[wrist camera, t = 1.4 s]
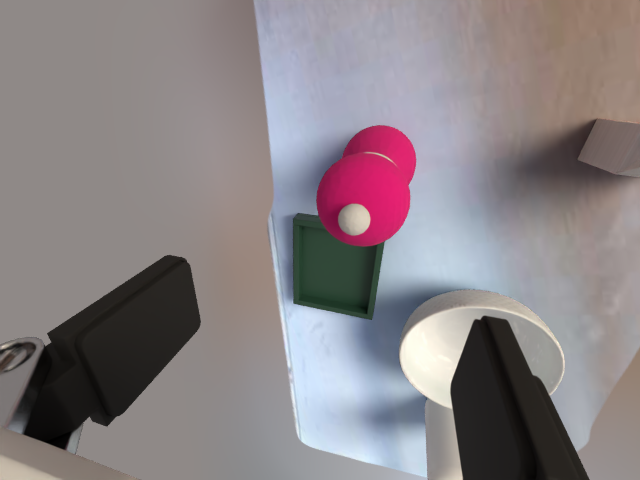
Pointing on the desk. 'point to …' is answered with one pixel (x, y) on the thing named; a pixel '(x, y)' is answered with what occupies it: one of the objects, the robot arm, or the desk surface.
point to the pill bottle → (441, 443)
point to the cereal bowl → (451, 334)
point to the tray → (333, 270)
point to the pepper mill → (368, 187)
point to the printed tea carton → (613, 147)
